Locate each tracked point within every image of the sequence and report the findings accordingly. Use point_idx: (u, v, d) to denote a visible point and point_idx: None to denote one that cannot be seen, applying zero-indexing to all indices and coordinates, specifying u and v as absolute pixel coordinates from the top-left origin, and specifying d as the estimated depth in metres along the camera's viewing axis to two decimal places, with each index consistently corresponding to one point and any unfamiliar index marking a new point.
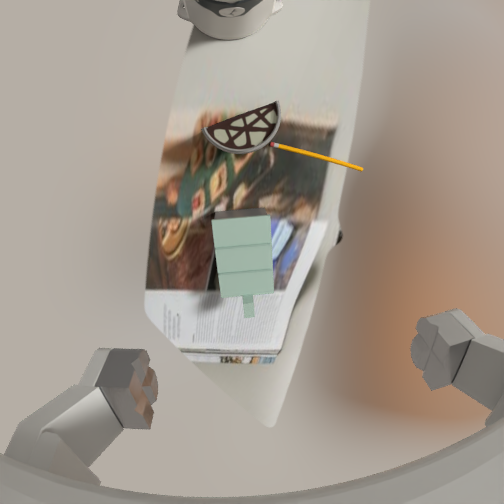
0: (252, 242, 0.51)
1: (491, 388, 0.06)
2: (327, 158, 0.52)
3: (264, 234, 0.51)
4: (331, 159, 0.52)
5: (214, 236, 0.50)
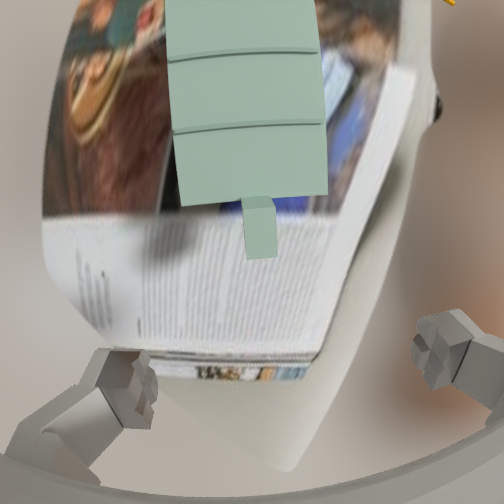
0: (269, 44, 0.15)
1: (491, 388, 0.06)
2: None
3: (300, 28, 0.15)
4: None
5: (168, 31, 0.15)
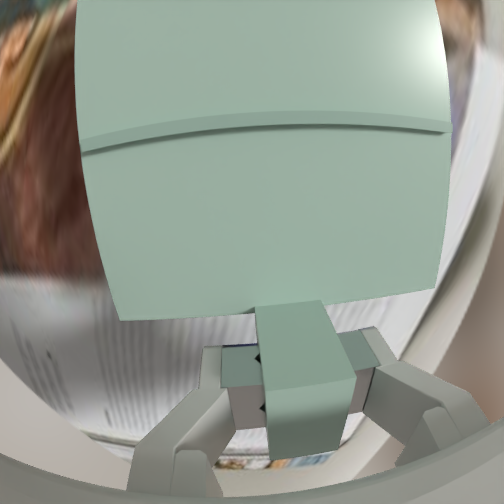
0: None
1: (404, 424, 0.06)
2: None
3: None
4: None
5: None
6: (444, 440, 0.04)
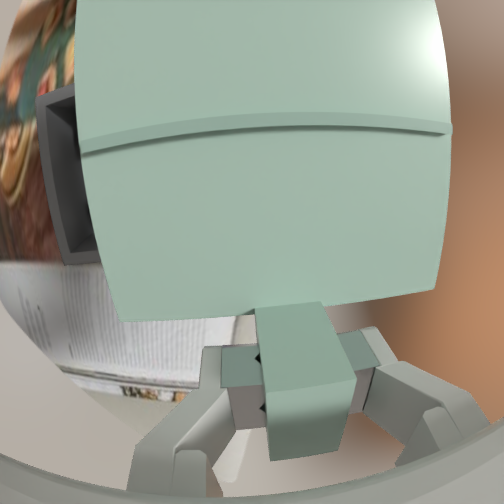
0: None
1: (404, 424, 0.06)
2: None
3: None
4: None
5: None
6: (444, 440, 0.04)
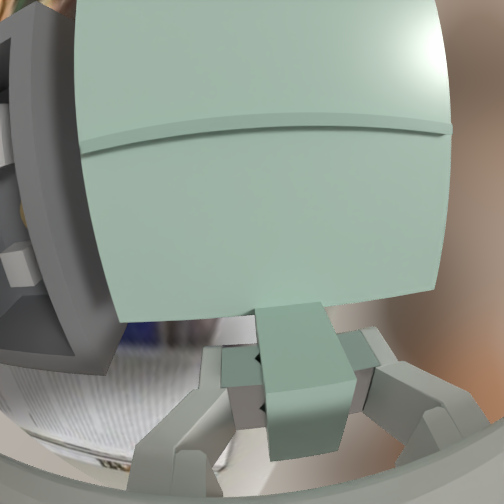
0: None
1: (404, 424, 0.06)
2: None
3: None
4: None
5: None
6: (444, 440, 0.04)
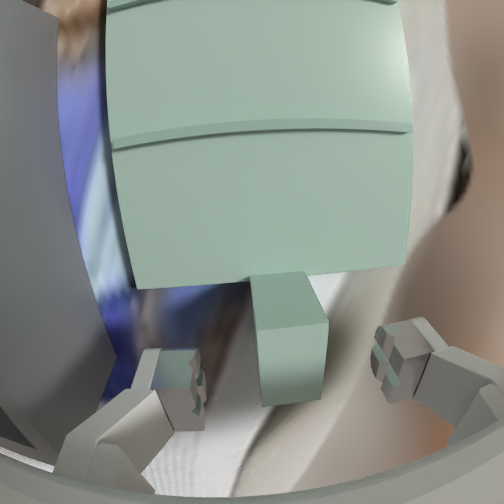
0: None
1: (454, 405, 0.06)
2: None
3: None
4: None
5: None
6: (499, 411, 0.04)
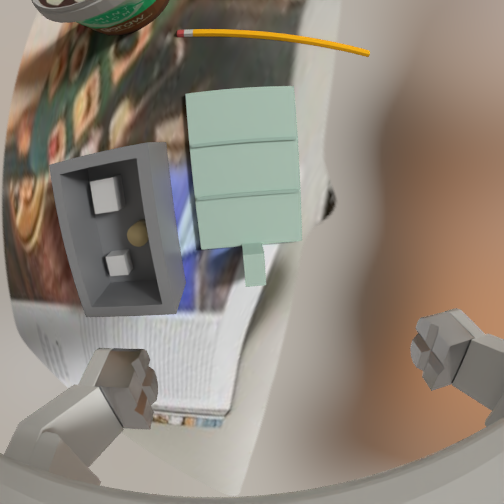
0: (261, 134, 0.25)
1: (491, 388, 0.06)
2: (294, 36, 0.22)
3: (283, 120, 0.25)
4: (303, 37, 0.22)
5: (189, 123, 0.25)
6: None
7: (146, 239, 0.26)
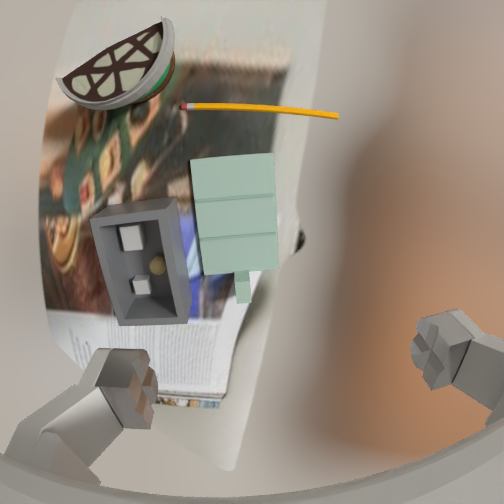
0: (248, 192, 0.35)
1: (491, 388, 0.06)
2: (276, 107, 0.31)
3: (265, 181, 0.35)
4: (283, 108, 0.32)
5: (194, 183, 0.34)
6: None
7: (164, 270, 0.36)
